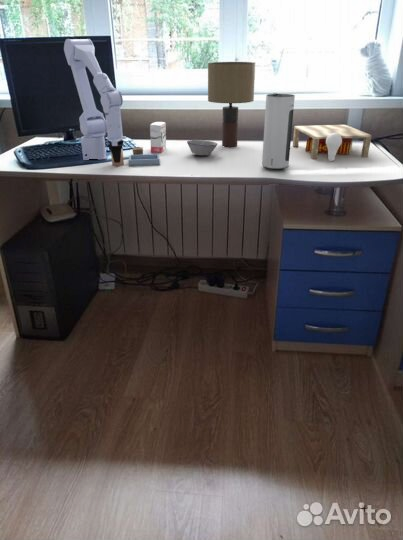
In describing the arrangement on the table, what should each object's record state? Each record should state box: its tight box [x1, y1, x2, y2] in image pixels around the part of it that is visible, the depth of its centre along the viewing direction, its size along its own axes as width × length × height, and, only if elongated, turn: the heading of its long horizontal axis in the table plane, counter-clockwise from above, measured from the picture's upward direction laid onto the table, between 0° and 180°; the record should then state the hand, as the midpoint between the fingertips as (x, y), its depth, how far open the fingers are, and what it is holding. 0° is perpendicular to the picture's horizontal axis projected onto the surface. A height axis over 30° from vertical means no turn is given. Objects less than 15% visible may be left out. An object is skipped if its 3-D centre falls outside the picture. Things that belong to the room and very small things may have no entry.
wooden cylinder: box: [110, 148, 125, 167], centre depth 167 cm, size 5×5×6 cm
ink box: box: [149, 121, 167, 154], centre depth 186 cm, size 9×5×12 cm, turn 168°
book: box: [305, 136, 354, 155], centre depth 187 cm, size 18×13×5 cm
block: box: [132, 146, 144, 155], centre depth 177 cm, size 4×4×4 cm
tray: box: [128, 153, 161, 167], centre depth 170 cm, size 12×9×2 cm
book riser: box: [292, 124, 372, 160], centre depth 184 cm, size 24×26×9 cm
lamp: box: [207, 61, 256, 148], centre depth 189 cm, size 20×20×35 cm
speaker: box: [261, 92, 296, 170], centre depth 159 cm, size 11×10×26 cm
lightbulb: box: [326, 133, 342, 162], centre depth 167 cm, size 6×6×11 cm
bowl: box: [186, 139, 219, 156], centre depth 180 cm, size 13×13×5 cm
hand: (117, 160), depth 167 cm, fingers closed on wooden cylinder, 4 cm apart
